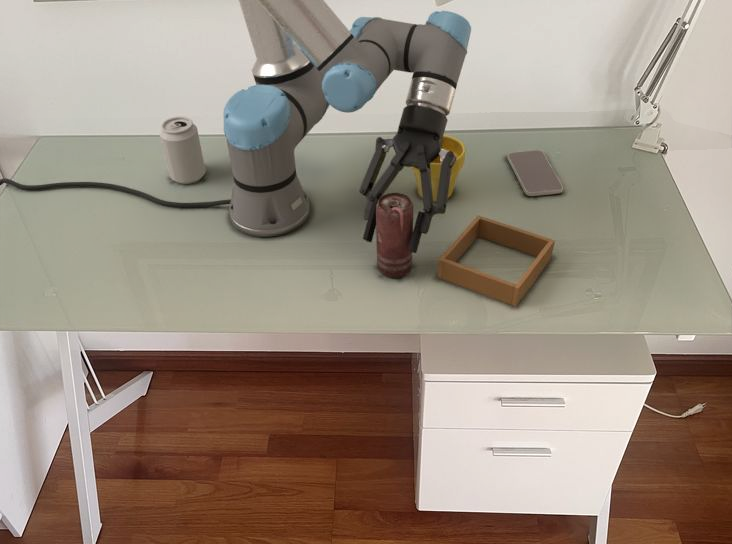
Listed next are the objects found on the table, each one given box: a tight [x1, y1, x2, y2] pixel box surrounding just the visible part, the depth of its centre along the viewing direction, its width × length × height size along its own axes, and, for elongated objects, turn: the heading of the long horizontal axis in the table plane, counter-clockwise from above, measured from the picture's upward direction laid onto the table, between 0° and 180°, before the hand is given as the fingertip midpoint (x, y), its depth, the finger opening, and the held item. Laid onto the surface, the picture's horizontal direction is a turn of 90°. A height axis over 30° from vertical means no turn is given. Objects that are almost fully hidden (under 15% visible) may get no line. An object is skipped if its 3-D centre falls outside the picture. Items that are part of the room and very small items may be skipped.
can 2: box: [375, 192, 415, 279], centre depth 128 cm, size 6×6×14 cm
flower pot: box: [410, 134, 466, 203], centre depth 145 cm, size 10×10×10 cm
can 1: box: [159, 116, 207, 185], centre depth 153 cm, size 8×8×12 cm
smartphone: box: [506, 149, 564, 197], centre depth 150 cm, size 7×1×15 cm
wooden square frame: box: [437, 215, 556, 308], centre depth 130 cm, size 15×15×4 cm
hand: (389, 245), depth 126 cm, fingers open, 7 cm apart
